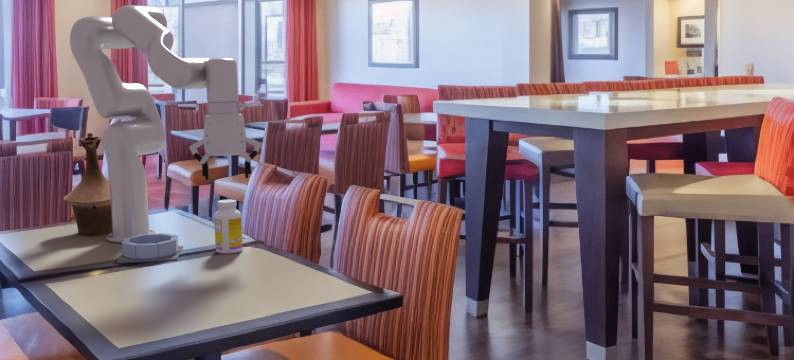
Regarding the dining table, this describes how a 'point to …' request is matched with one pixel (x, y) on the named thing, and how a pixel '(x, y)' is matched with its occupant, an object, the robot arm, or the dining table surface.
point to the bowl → (150, 246)
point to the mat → (170, 258)
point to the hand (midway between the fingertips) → (227, 178)
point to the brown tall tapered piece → (92, 195)
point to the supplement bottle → (228, 227)
